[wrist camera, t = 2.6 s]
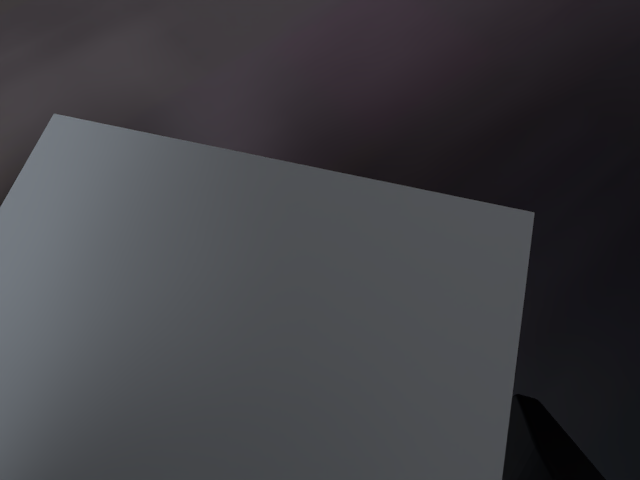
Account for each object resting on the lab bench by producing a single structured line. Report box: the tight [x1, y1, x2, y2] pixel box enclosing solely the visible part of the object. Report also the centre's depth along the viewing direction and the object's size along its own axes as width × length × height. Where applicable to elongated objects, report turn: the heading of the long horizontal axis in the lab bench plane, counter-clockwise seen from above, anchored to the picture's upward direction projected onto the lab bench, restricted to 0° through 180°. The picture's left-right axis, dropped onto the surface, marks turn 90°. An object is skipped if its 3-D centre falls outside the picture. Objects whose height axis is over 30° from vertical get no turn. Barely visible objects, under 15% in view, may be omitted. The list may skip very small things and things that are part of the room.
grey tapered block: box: [0, 114, 535, 480], centre depth 10 cm, size 5×6×13 cm
